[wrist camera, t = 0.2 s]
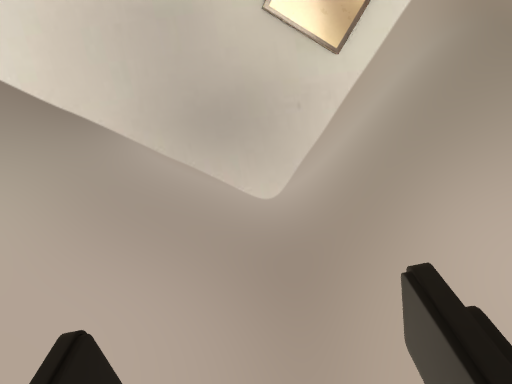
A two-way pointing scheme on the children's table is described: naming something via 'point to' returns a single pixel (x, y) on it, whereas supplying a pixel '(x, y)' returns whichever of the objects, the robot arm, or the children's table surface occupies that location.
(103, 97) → the children's table surface
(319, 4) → the board
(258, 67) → the children's table surface
